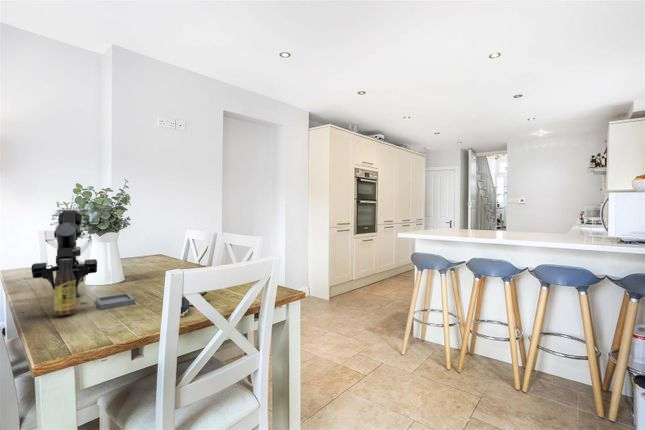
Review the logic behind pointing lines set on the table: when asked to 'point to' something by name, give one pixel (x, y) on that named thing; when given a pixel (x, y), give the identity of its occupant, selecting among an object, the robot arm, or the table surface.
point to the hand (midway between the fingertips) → (65, 287)
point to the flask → (184, 305)
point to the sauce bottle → (65, 288)
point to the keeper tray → (114, 301)
